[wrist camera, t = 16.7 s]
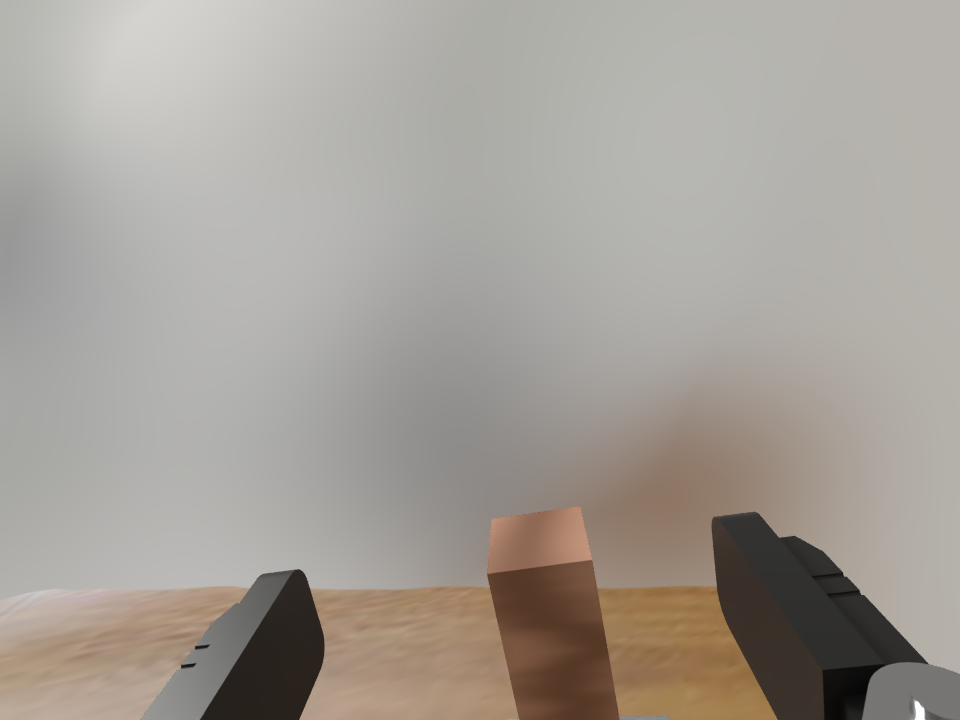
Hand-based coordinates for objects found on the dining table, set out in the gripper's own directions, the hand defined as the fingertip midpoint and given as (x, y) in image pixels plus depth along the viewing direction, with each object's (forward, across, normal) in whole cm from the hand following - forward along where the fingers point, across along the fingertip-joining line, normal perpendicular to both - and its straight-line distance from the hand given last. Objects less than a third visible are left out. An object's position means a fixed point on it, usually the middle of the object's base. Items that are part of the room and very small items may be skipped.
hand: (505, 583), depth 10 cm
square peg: (+10, 0, +24) cm, 26 cm away
